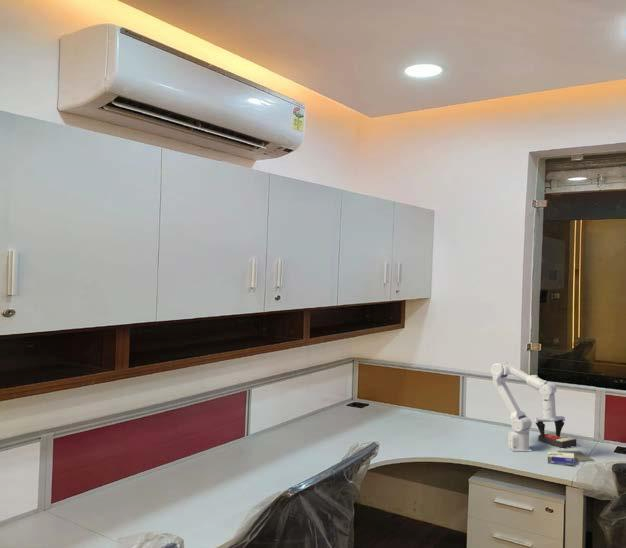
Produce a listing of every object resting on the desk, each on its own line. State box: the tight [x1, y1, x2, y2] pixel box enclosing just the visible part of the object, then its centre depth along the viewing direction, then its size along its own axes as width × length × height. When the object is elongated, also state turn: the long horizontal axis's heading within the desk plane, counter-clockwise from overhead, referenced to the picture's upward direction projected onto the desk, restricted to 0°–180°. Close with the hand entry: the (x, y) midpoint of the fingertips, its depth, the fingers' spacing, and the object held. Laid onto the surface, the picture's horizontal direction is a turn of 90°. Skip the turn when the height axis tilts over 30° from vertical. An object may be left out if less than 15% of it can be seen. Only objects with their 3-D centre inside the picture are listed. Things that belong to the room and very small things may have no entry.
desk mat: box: [557, 450, 595, 462], centre depth 269 cm, size 11×14×1 cm
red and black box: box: [537, 432, 577, 449], centre depth 290 cm, size 11×4×15 cm
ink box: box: [546, 451, 575, 466], centre depth 263 cm, size 12×2×12 cm
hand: (550, 436), depth 269 cm, fingers open, 7 cm apart
